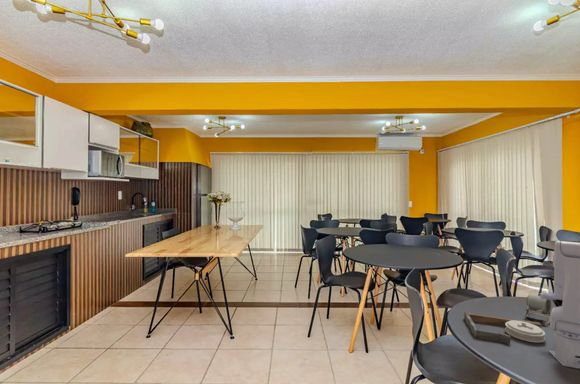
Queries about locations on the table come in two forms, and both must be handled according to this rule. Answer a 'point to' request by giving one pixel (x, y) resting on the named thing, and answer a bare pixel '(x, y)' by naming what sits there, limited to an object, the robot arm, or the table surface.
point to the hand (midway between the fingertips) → (563, 319)
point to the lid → (525, 331)
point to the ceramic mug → (538, 304)
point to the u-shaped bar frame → (493, 320)
